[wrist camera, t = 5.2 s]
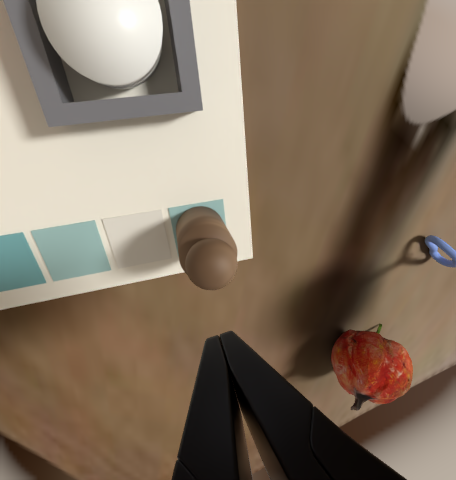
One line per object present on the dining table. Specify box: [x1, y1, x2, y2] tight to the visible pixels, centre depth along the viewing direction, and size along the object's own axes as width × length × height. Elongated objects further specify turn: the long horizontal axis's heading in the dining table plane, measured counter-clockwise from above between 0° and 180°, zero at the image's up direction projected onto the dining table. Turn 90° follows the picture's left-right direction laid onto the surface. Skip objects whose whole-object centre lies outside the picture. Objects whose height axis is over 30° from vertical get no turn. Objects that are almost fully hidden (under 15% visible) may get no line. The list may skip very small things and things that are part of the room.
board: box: [0, 0, 253, 310], centre depth 17 cm, size 21×19×1 cm
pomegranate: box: [331, 324, 413, 410], centre depth 28 cm, size 7×7×10 cm
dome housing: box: [3, 0, 203, 127], centre depth 14 cm, size 8×8×2 cm
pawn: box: [176, 206, 237, 290], centre depth 17 cm, size 4×4×7 cm
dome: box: [36, 0, 163, 89], centre depth 13 cm, size 5×5×3 cm
